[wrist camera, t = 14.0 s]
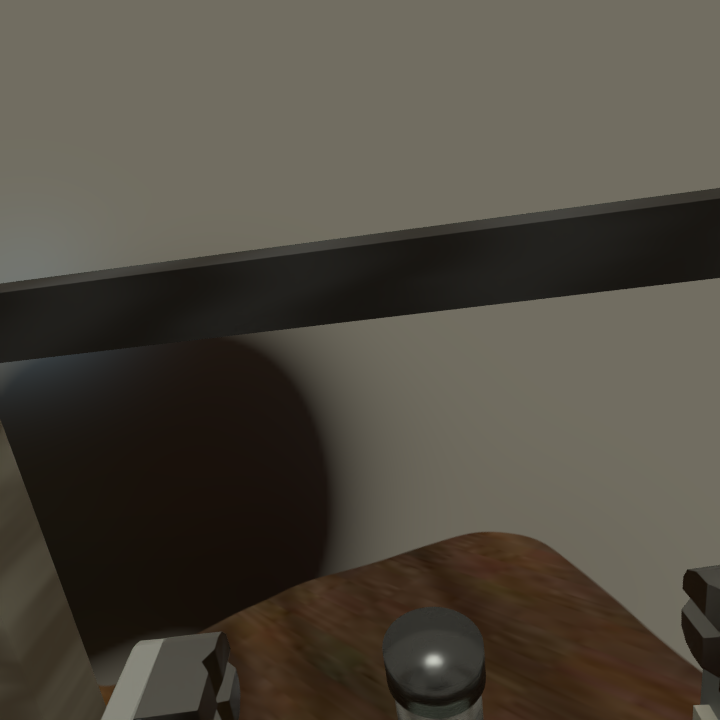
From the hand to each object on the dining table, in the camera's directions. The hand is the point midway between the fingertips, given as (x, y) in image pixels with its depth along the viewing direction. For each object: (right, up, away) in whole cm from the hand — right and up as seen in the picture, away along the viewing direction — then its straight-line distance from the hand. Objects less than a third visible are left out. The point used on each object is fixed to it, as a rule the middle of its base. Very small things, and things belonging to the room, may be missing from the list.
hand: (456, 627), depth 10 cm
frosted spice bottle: (+4, -23, +24) cm, 33 cm away
